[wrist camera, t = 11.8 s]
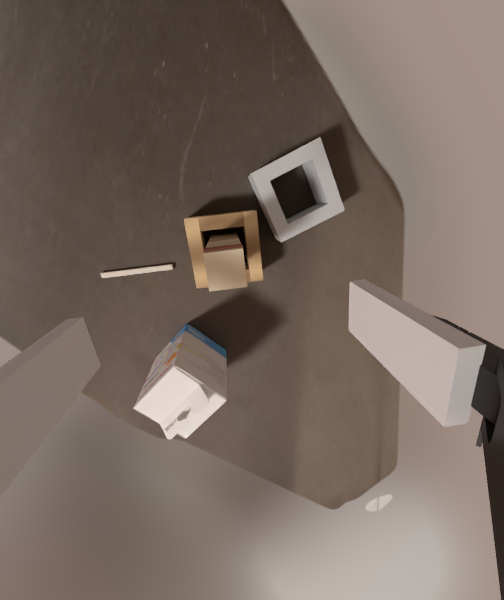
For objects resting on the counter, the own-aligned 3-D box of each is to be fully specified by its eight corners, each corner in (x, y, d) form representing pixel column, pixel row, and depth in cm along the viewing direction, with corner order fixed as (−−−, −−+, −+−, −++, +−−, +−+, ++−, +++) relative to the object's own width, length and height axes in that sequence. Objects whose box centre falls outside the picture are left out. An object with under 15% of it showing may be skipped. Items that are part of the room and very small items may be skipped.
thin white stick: (102, 272, 38) (100, 273, 37) (172, 263, 38) (171, 264, 38) (103, 277, 38) (102, 278, 38) (173, 268, 39) (172, 269, 38)
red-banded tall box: (210, 234, 38) (202, 252, 23) (236, 231, 38) (243, 247, 24) (214, 260, 39) (209, 292, 25) (239, 257, 39) (248, 286, 25)
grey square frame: (247, 177, 35) (250, 173, 31) (308, 145, 35) (320, 136, 31) (275, 238, 39) (281, 242, 34) (331, 209, 38) (344, 210, 34)
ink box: (187, 321, 42) (171, 371, 29) (227, 351, 44) (229, 409, 32) (154, 358, 43) (125, 420, 31) (195, 384, 46) (184, 452, 33)
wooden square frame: (188, 217, 36) (183, 218, 32) (253, 209, 37) (256, 210, 33) (199, 279, 40) (196, 288, 35) (259, 272, 40) (263, 280, 36)
